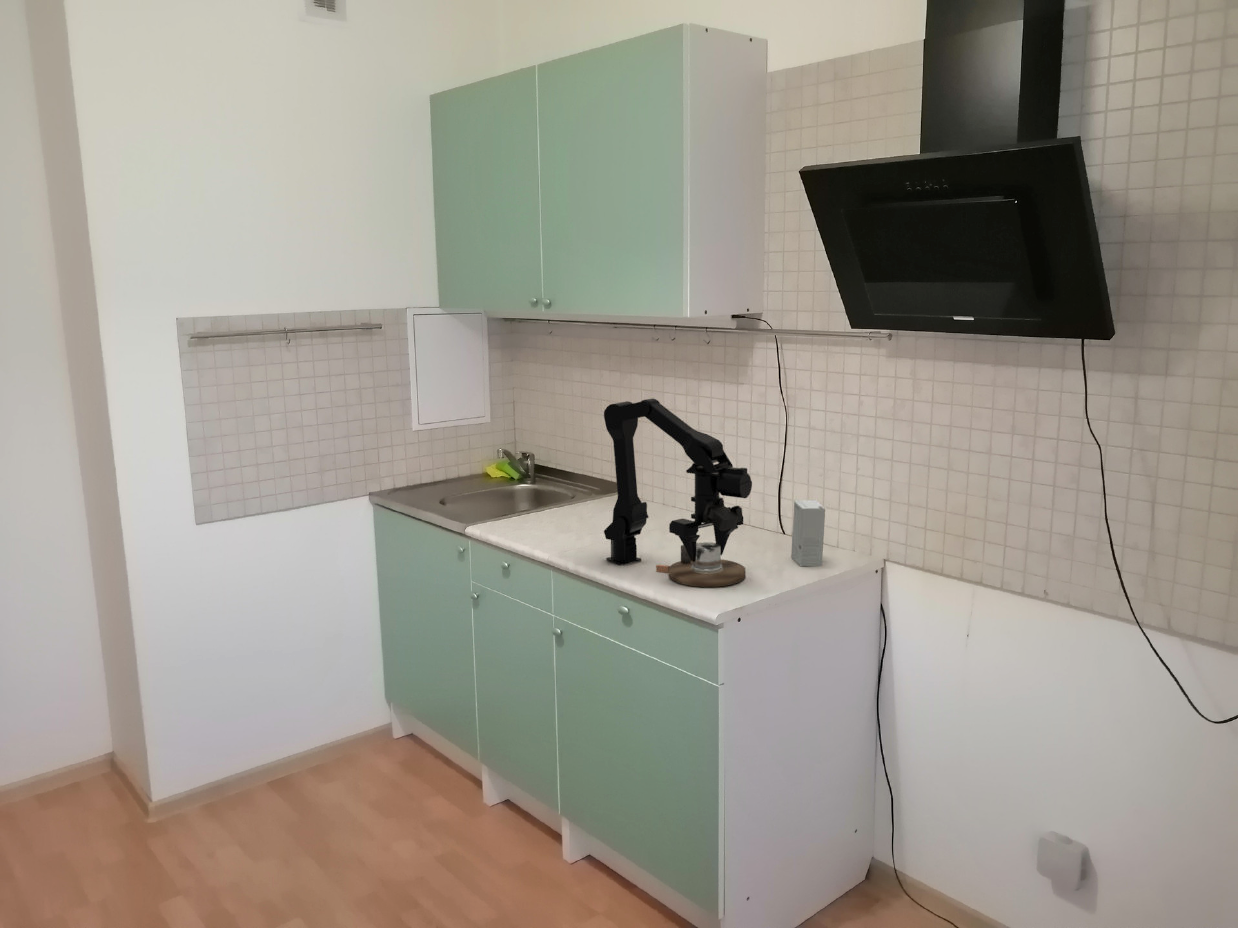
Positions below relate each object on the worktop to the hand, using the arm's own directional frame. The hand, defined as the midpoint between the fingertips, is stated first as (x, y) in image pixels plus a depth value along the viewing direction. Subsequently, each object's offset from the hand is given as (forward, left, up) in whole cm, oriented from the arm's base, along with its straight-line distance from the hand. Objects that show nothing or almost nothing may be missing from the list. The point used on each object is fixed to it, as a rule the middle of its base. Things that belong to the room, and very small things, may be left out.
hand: (706, 558), depth 229 cm
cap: (0, 0, -2) cm, 3 cm away
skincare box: (+7, +27, -5) cm, 28 cm away
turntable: (0, 0, -4) cm, 4 cm away
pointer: (-9, -5, -4) cm, 12 cm away
